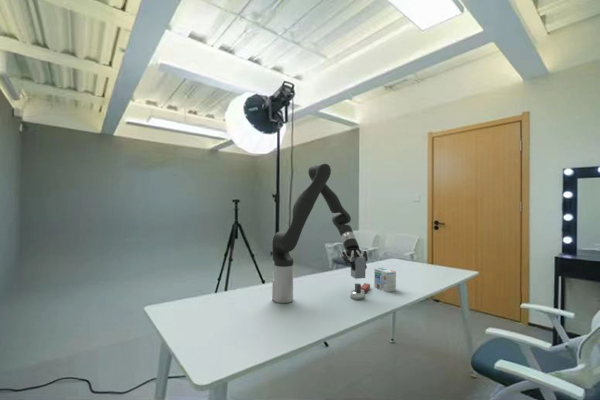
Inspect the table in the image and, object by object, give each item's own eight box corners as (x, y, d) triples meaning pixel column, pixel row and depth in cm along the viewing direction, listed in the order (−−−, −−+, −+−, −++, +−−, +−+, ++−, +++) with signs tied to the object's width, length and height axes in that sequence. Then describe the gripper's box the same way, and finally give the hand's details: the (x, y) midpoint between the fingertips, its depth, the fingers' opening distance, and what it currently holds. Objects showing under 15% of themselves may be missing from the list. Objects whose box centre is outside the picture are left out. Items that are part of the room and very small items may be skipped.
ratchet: (362, 301, 138) (362, 286, 138) (348, 298, 142) (349, 284, 142) (373, 288, 159) (373, 276, 159) (361, 287, 162) (361, 274, 162)
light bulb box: (373, 286, 163) (374, 268, 163) (383, 285, 166) (383, 267, 166) (386, 292, 153) (387, 272, 153) (396, 290, 156) (396, 271, 156)
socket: (355, 278, 140) (355, 258, 140) (350, 275, 145) (350, 256, 145) (365, 278, 141) (365, 257, 141) (360, 275, 147) (360, 255, 147)
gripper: (339, 238, 149) (348, 266, 137) (364, 237, 152) (375, 264, 141) (335, 246, 154) (344, 274, 142) (359, 245, 158) (370, 272, 146)
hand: (359, 269), depth 142 cm, fingers closed on socket, 5 cm apart
